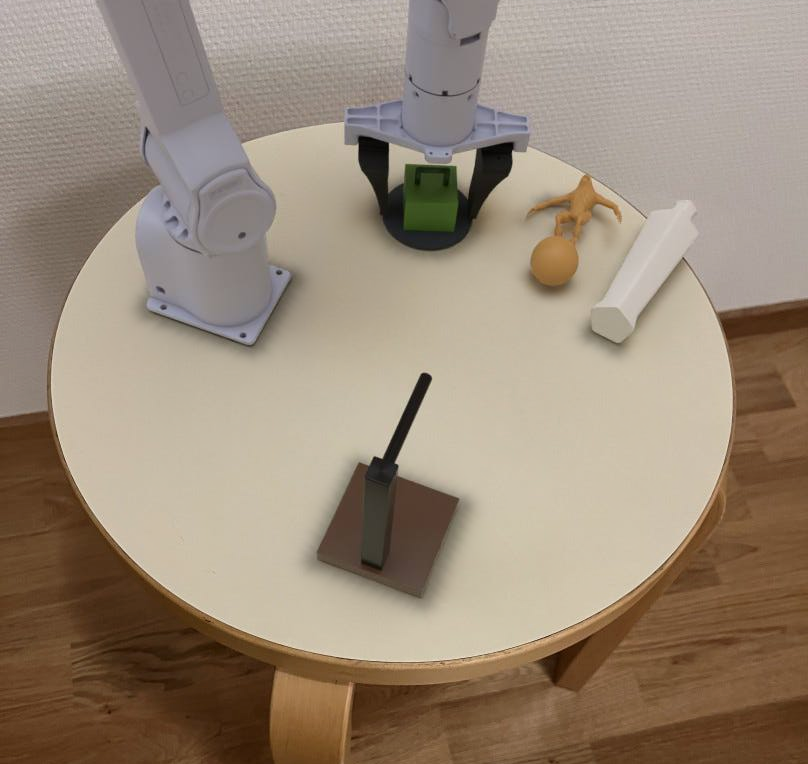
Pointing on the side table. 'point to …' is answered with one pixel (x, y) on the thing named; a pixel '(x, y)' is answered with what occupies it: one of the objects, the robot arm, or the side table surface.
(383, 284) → the side table surface
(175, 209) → the robot arm
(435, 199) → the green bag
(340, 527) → the hook stand
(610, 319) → the perfume bottle
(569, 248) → the figurine
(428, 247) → the mat
